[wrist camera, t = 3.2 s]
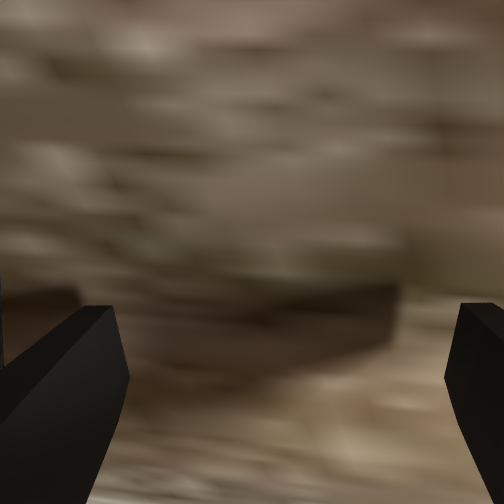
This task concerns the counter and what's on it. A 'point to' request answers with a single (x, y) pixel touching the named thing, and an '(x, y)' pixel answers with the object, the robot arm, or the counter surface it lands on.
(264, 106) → the counter surface
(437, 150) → the counter surface
